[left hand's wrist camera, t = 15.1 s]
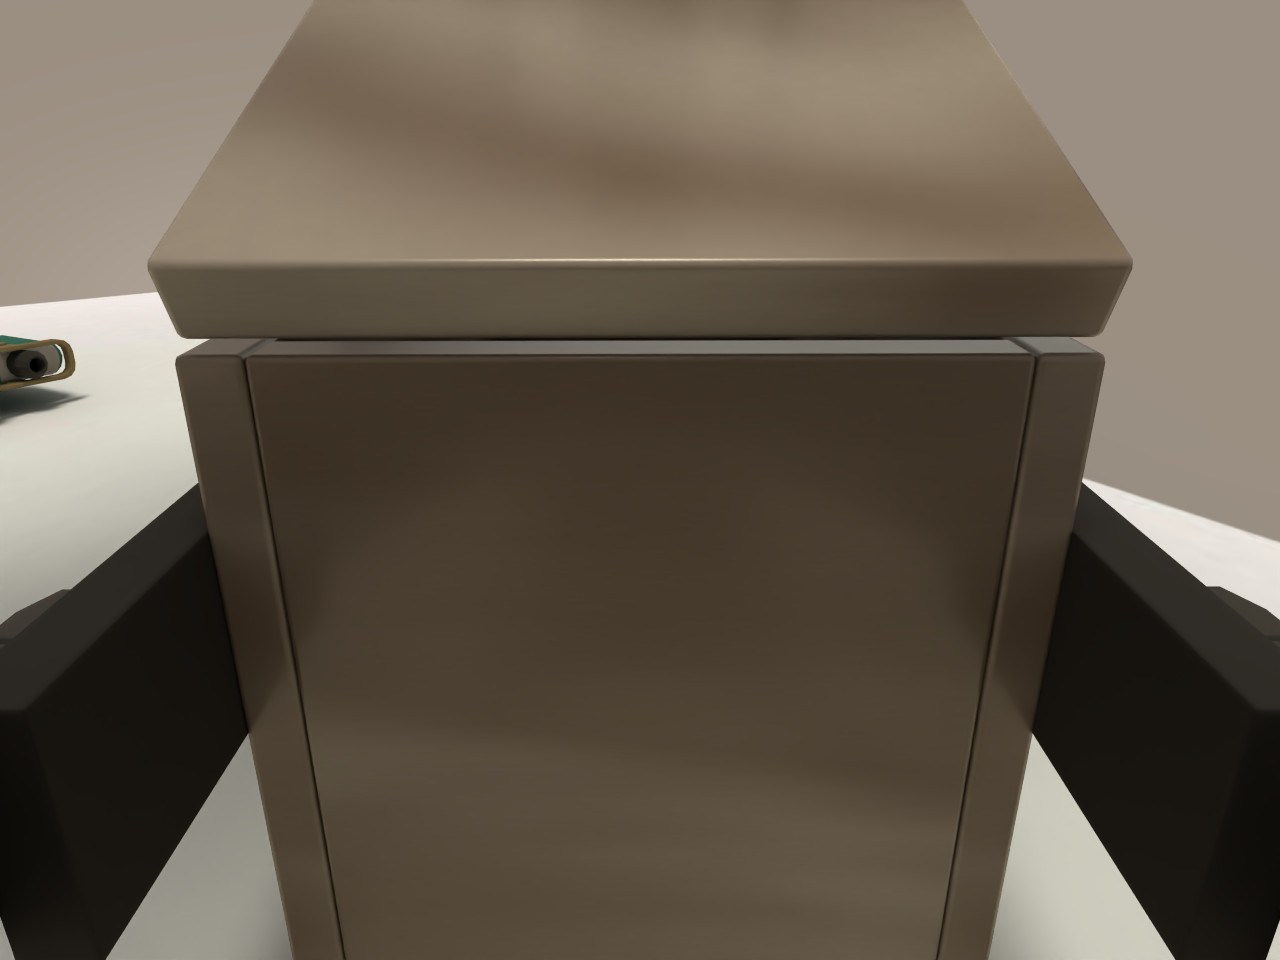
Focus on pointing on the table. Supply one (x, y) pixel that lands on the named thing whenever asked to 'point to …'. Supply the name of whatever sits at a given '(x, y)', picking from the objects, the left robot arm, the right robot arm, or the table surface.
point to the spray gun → (32, 361)
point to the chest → (640, 633)
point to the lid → (639, 180)
